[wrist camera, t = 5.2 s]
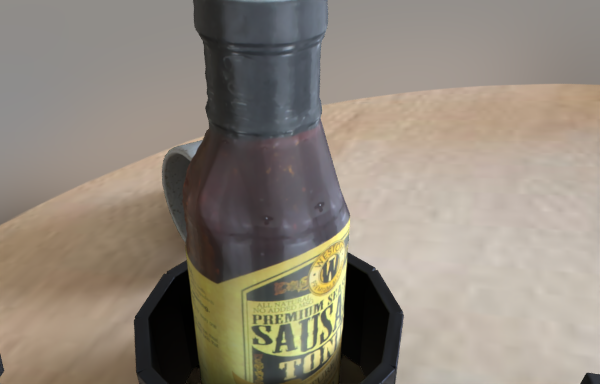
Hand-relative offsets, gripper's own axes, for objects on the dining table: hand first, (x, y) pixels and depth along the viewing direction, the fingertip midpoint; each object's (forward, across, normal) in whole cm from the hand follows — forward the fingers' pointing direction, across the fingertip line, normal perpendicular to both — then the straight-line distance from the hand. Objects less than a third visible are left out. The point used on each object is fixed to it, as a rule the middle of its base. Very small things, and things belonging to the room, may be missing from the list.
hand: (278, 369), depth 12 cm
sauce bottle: (+9, 0, -14) cm, 16 cm away
